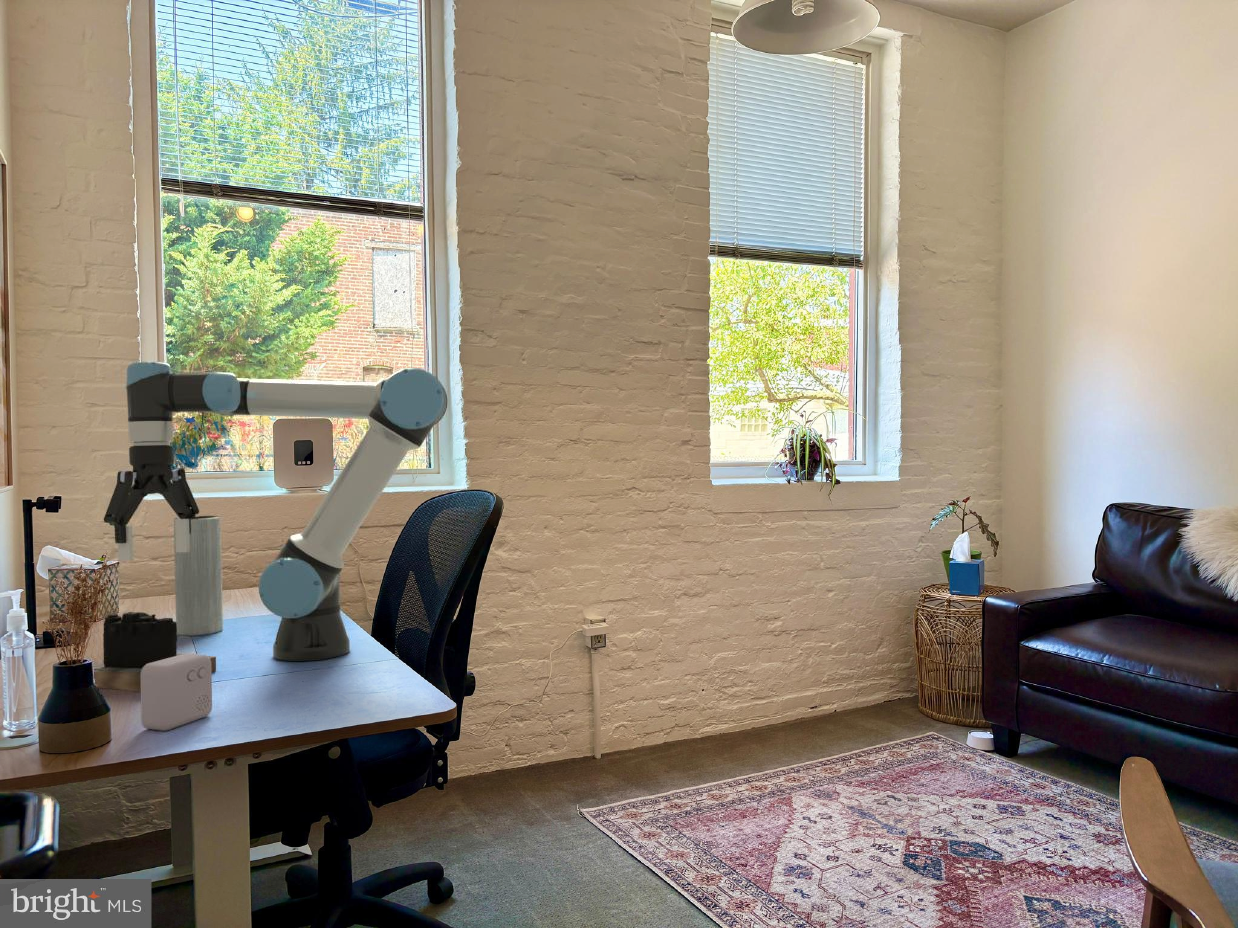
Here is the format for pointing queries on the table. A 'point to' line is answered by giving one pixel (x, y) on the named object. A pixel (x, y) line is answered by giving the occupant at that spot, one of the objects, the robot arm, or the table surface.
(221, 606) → the vase
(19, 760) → the table surface
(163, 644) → the camera
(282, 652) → the robot arm
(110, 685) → the stand
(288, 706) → the table surface
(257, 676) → the table surface
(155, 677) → the electronic device
